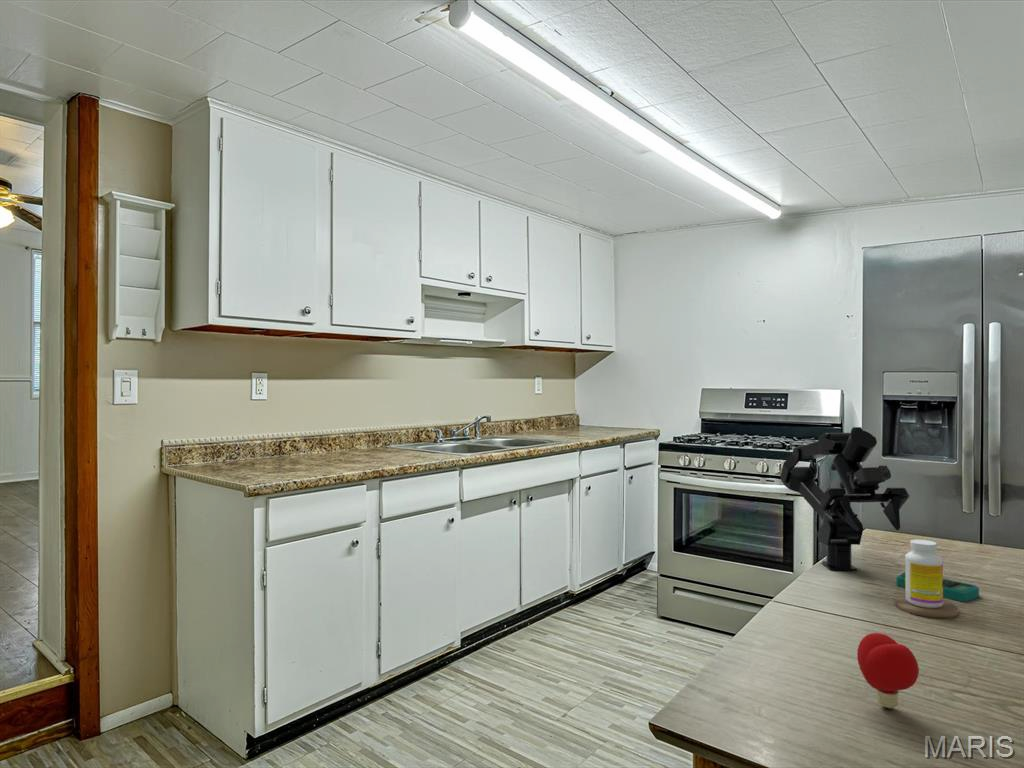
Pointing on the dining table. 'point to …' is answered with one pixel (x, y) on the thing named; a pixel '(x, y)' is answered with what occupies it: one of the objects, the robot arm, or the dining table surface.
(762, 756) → the dining table surface
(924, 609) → the coaster
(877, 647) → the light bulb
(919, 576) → the supplement bottle
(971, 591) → the digital multimeter
